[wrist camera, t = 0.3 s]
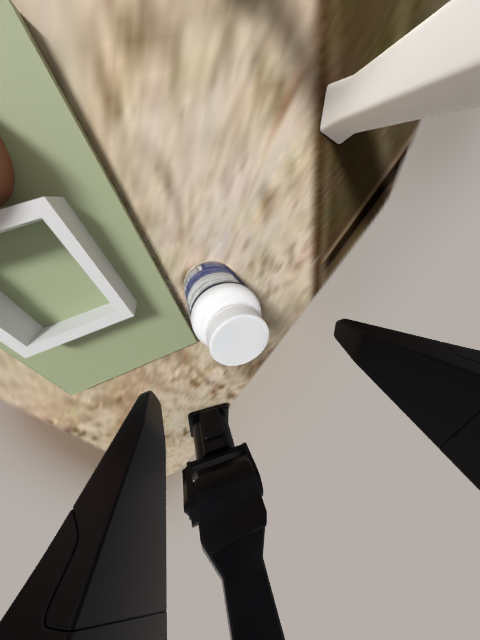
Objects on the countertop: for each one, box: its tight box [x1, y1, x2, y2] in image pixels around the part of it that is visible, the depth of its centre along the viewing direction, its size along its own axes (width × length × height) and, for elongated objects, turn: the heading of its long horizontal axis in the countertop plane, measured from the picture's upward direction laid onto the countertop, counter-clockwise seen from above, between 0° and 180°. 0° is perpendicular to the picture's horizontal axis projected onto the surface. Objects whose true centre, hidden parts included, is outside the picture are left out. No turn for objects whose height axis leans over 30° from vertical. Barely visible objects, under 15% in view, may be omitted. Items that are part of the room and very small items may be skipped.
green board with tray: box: [0, 0, 197, 395], centre depth 13 cm, size 22×14×5 cm, turn 14°
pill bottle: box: [184, 261, 269, 366], centre depth 16 cm, size 5×5×10 cm
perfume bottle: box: [320, 0, 480, 144], centre depth 9 cm, size 5×4×15 cm
